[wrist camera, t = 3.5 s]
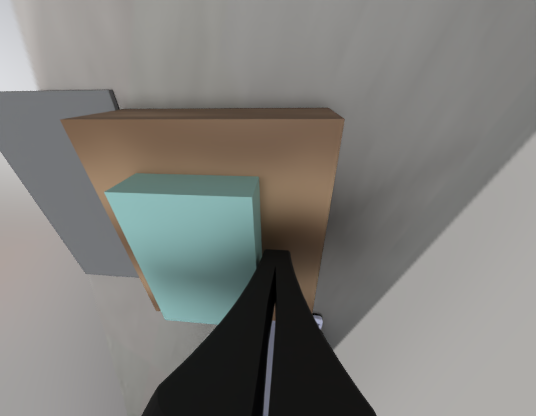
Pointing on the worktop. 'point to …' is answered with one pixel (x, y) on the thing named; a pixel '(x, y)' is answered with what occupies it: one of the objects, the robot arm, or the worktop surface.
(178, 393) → the robot arm
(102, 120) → the brown flat block
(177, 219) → the teal rectangular block
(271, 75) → the worktop surface
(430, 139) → the worktop surface
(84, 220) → the mat
